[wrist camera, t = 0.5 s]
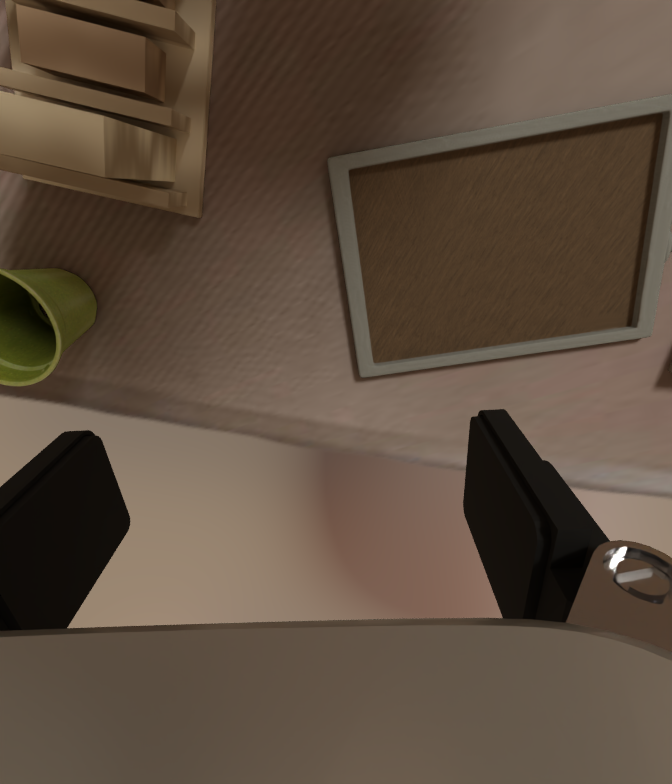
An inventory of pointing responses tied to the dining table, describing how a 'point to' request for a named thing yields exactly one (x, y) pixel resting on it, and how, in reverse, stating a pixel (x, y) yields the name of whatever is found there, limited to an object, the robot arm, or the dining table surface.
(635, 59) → the dining table surface
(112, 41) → the walnut offcut
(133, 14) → the offcut rack
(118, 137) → the maple block
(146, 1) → the walnut offcut
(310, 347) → the dining table surface
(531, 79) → the dining table surface
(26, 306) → the plant pot
